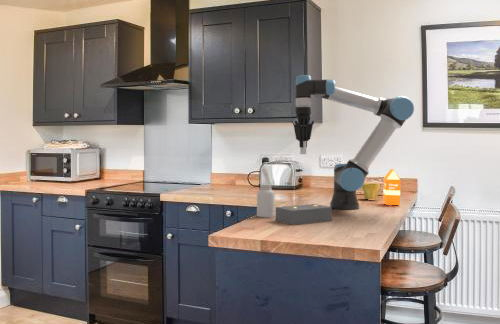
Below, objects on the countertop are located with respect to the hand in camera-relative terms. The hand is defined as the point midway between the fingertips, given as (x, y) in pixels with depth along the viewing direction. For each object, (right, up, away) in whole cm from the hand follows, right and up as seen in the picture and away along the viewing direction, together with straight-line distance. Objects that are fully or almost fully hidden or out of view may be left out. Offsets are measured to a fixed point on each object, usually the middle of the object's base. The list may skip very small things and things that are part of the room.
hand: (303, 154), depth 243 cm
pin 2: (+2, -29, -26) cm, 39 cm away
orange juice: (+52, -28, +29) cm, 66 cm away
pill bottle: (-20, -29, -18) cm, 40 cm away
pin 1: (-8, -29, -32) cm, 44 cm away
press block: (-3, -30, -29) cm, 42 cm away
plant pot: (+46, -27, +49) cm, 73 cm away
